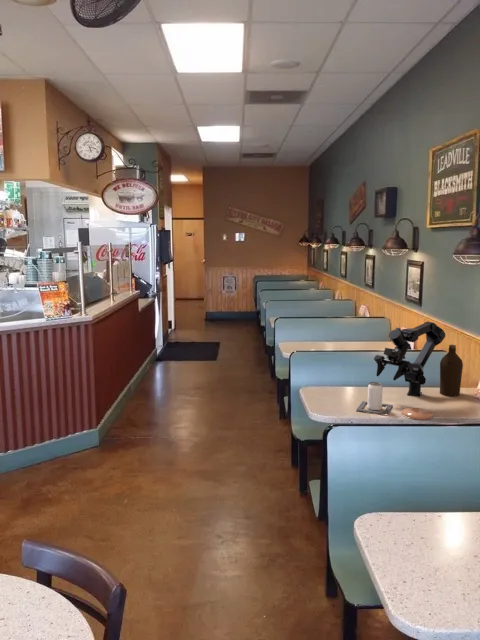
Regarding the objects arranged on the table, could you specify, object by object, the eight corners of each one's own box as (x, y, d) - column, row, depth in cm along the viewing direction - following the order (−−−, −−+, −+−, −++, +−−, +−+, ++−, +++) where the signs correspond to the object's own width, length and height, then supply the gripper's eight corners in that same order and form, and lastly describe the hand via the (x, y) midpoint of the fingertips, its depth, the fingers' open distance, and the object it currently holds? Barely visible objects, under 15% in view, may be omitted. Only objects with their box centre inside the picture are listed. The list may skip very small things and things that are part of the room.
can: (382, 411, 247) (383, 385, 245) (367, 410, 248) (368, 385, 246) (381, 406, 253) (382, 382, 251) (367, 406, 254) (368, 381, 252)
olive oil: (464, 397, 266) (467, 347, 262) (442, 396, 267) (444, 347, 263) (456, 390, 277) (459, 343, 273) (435, 390, 278) (438, 342, 273)
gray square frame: (362, 402, 260) (362, 401, 260) (392, 406, 254) (392, 404, 254) (356, 411, 247) (356, 409, 247) (387, 415, 241) (387, 414, 241)
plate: (404, 408, 250) (404, 406, 250) (433, 412, 245) (434, 409, 245) (399, 417, 239) (399, 414, 238) (430, 421, 233) (431, 418, 233)
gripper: (376, 338, 261) (361, 364, 256) (411, 344, 247) (395, 372, 241) (385, 352, 267) (371, 377, 262) (419, 358, 253) (405, 385, 248)
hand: (385, 378), depth 253 cm, fingers open, 9 cm apart
